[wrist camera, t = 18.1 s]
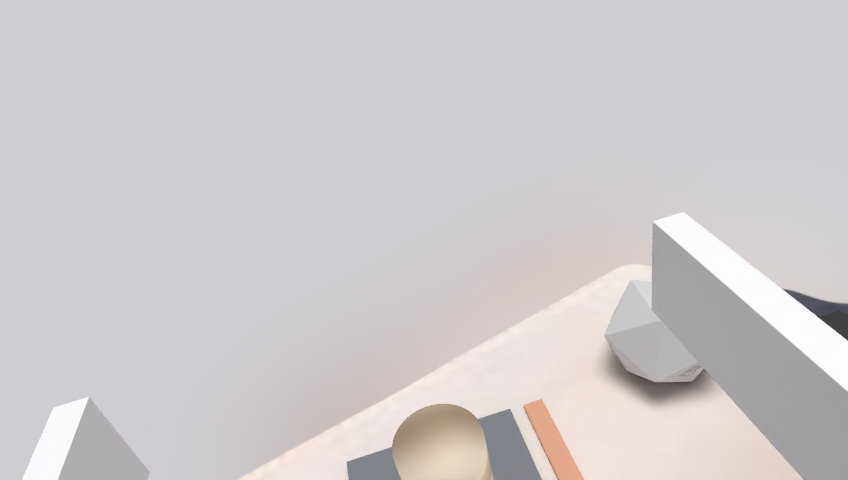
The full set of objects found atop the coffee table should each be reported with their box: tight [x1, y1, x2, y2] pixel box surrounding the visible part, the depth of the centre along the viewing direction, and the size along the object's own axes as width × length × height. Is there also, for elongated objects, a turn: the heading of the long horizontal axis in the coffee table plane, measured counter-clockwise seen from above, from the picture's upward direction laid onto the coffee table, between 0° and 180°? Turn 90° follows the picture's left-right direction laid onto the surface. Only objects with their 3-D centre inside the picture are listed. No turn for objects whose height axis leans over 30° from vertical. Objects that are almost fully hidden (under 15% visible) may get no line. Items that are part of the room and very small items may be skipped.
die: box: [604, 280, 704, 382], centre depth 46 cm, size 8×9×10 cm
